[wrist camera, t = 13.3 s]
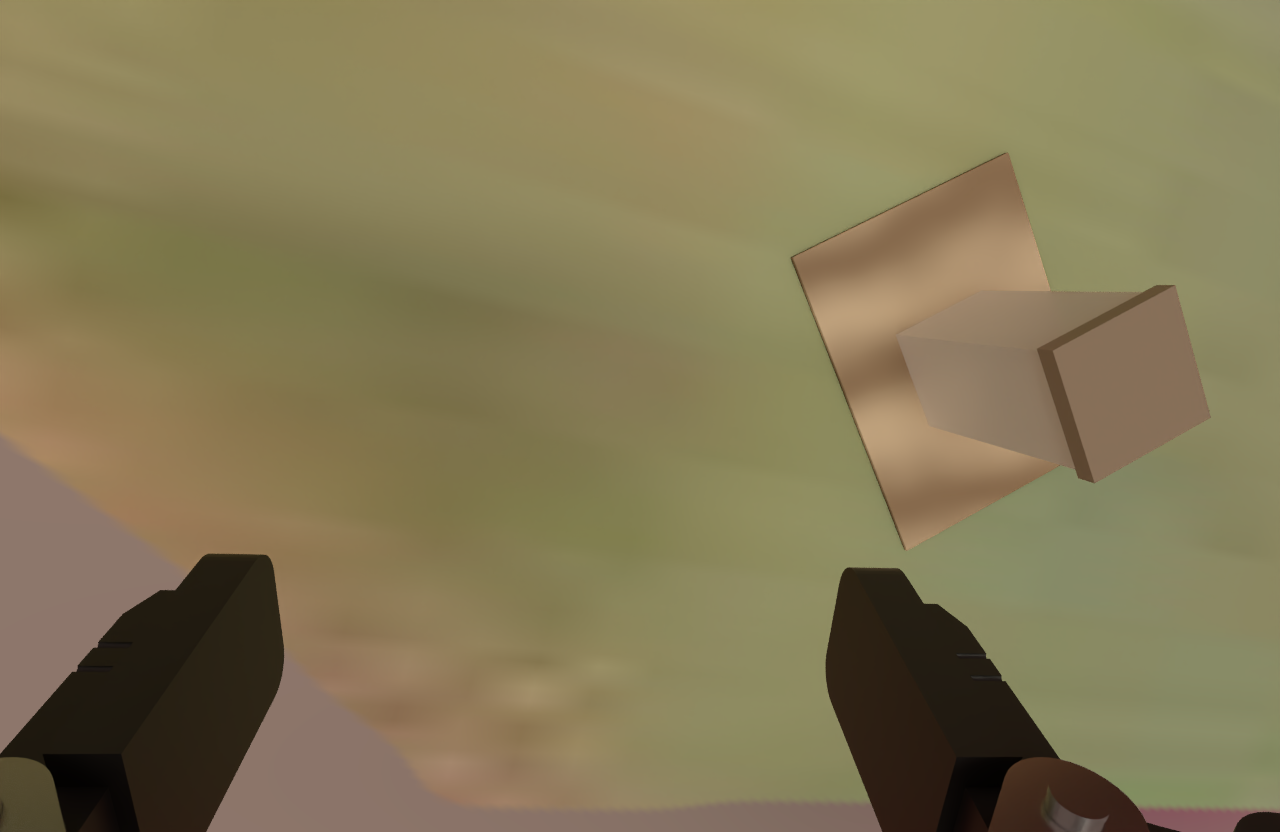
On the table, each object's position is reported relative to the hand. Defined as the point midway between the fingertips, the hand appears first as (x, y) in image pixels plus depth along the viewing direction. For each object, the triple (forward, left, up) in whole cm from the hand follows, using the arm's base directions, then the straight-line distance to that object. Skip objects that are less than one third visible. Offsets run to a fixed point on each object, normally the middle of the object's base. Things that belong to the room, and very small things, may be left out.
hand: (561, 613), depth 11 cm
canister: (+9, +21, -24) cm, 33 cm away
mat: (+8, +21, -24) cm, 33 cm away
